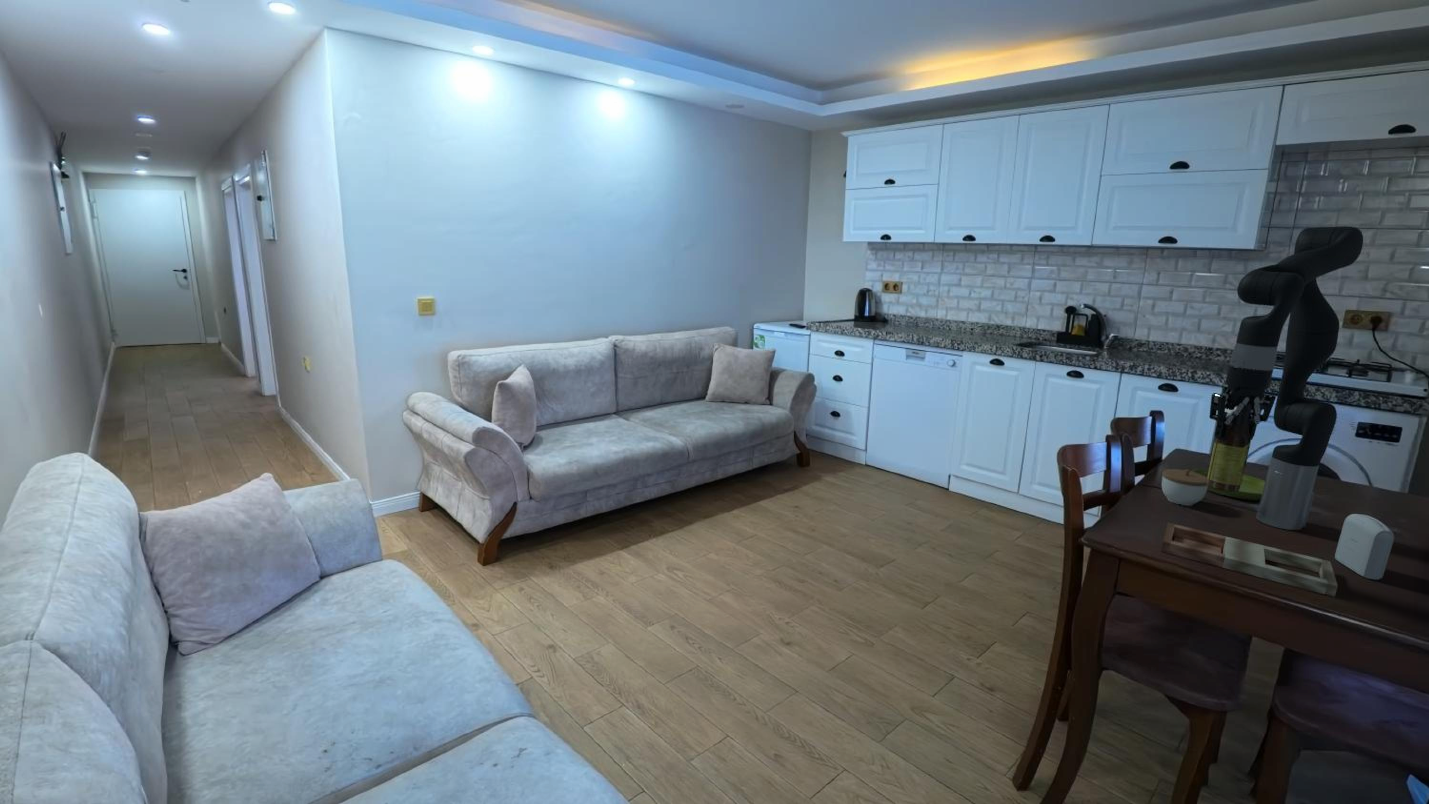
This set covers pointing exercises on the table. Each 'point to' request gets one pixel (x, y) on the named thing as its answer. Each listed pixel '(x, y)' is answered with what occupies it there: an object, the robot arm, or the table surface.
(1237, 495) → the saucer
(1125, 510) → the table surface
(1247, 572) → the birch rail plate
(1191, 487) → the lidded jar
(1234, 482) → the sauce bottle
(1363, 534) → the photo printer
